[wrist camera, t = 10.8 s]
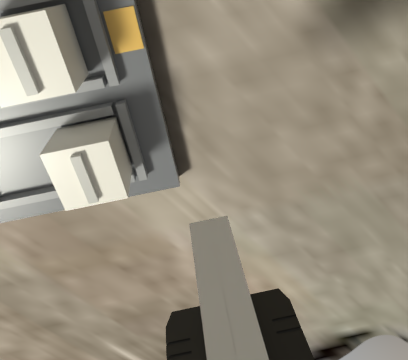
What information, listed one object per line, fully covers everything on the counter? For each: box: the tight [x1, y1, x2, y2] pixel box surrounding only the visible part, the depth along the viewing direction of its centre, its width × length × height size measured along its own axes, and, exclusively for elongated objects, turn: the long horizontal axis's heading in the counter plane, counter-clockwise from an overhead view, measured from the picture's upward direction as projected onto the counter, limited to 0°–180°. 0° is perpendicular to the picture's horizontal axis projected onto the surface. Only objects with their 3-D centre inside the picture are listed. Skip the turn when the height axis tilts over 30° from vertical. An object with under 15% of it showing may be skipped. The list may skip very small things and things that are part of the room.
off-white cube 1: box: [0, 4, 89, 108], centre depth 19 cm, size 4×4×4 cm
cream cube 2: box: [40, 116, 132, 211], centre depth 23 cm, size 4×4×4 cm
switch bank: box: [0, 0, 180, 223], centre depth 23 cm, size 16×16×2 cm
